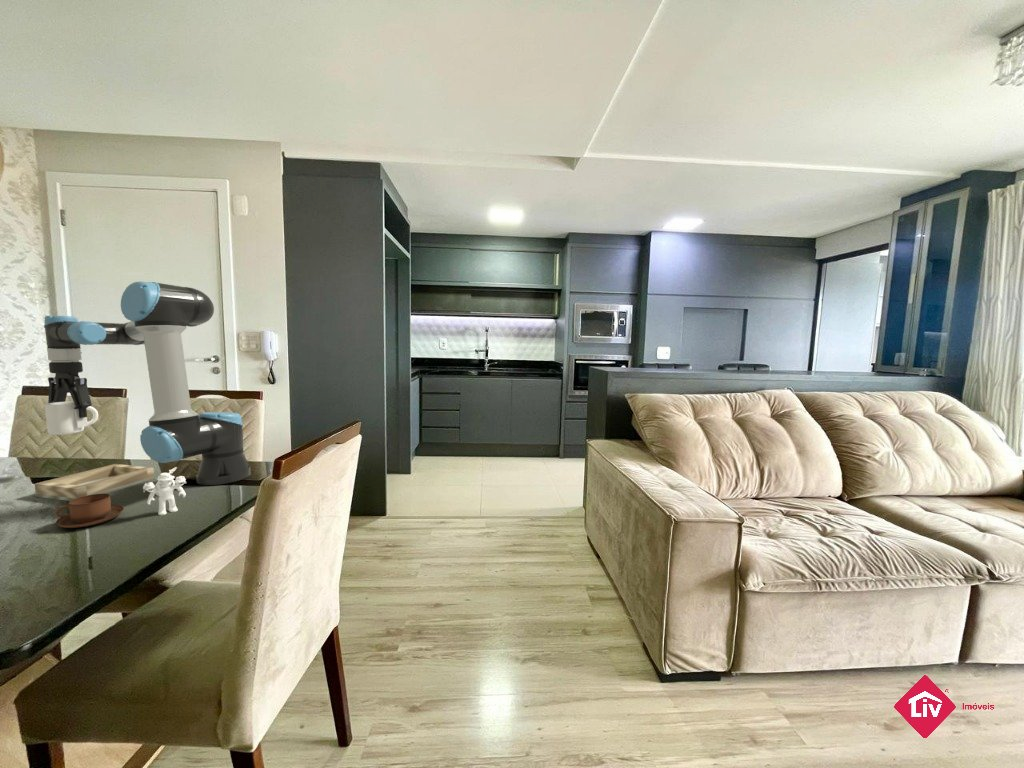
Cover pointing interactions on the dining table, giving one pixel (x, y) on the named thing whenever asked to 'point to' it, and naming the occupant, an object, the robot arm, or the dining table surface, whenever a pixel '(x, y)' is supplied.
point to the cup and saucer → (88, 511)
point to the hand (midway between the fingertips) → (72, 426)
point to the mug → (64, 418)
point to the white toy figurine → (165, 491)
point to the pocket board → (94, 482)
